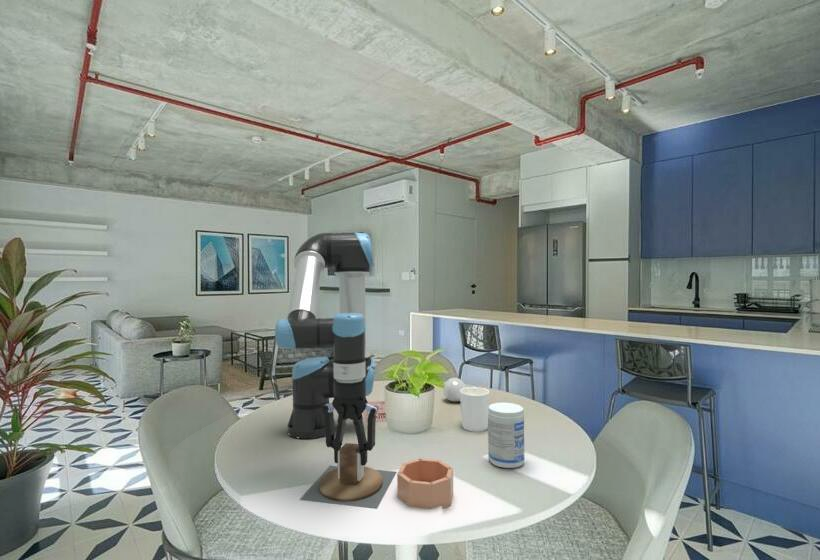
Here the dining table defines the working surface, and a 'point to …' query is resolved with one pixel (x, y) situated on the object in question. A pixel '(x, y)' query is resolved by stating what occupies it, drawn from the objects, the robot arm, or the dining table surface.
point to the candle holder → (474, 408)
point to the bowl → (425, 483)
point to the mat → (367, 502)
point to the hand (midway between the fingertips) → (351, 476)
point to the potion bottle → (454, 389)
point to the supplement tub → (506, 435)
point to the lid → (350, 478)
